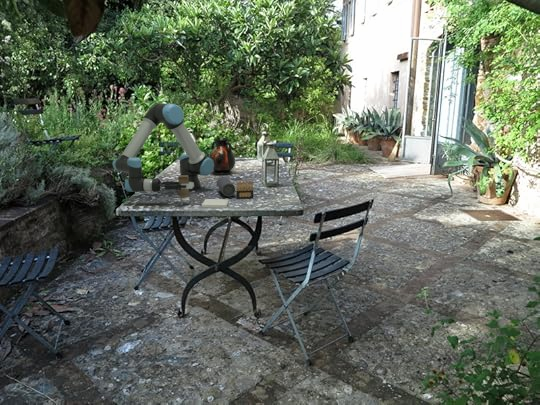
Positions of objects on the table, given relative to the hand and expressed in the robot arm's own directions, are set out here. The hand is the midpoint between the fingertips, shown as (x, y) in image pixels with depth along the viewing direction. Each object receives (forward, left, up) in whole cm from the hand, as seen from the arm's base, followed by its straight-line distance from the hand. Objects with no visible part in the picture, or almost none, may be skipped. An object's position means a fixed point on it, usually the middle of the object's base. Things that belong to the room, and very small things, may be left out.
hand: (193, 185), depth 263 cm
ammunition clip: (-17, +29, -12) cm, 35 cm away
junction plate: (-1, +13, -12) cm, 17 cm away
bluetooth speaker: (-28, +16, -12) cm, 34 cm away
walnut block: (0, -5, -7) cm, 8 cm away
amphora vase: (-100, +5, -12) cm, 101 cm away
